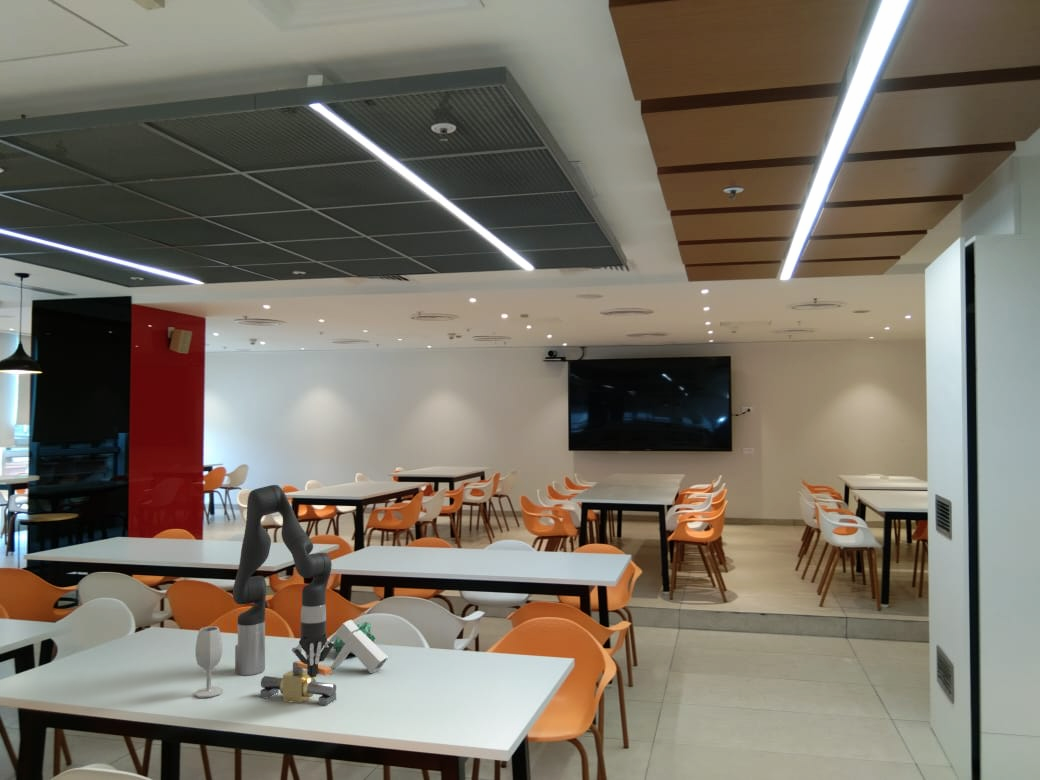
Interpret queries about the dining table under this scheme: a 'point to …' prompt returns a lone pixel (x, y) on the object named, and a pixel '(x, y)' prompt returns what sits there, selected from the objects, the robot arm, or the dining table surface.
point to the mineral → (363, 627)
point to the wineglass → (208, 657)
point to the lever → (299, 667)
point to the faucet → (358, 647)
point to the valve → (298, 688)
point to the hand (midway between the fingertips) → (312, 676)
